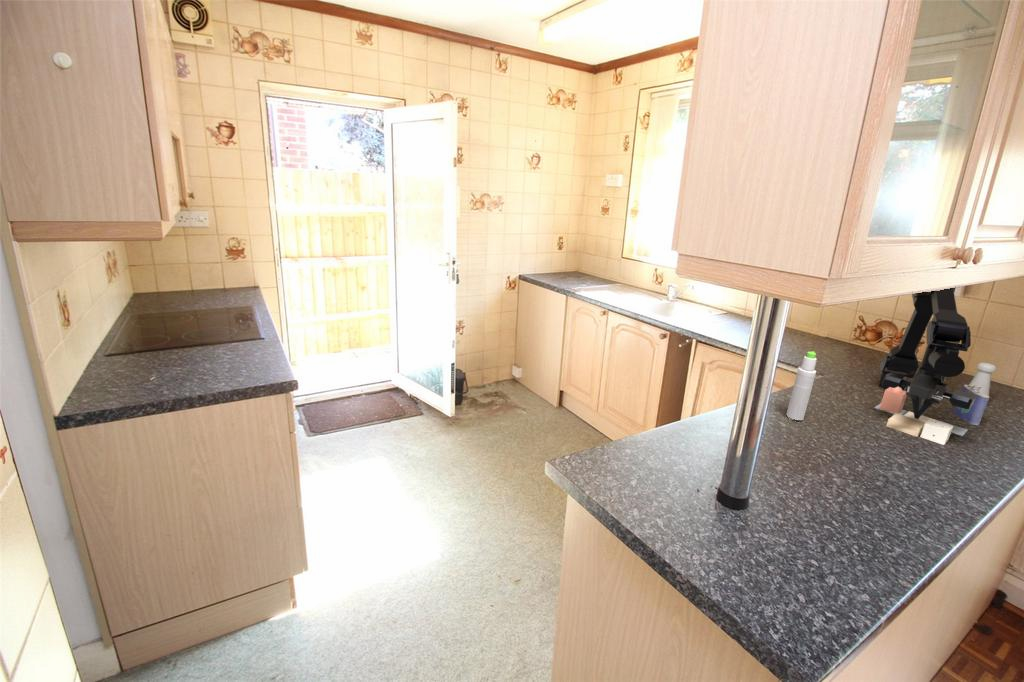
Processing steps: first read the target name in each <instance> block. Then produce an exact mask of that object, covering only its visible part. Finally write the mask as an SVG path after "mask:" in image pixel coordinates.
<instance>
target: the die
mask: <svg viewBox="0 0 1024 682" xmlns="http://www.w3.org/2000/svg"><path fill="white" fill-rule="evenodd" d="M932 419H933V418H932ZM932 419H929V420H928V421H927V422H926V423H925V425H924V428H923V431H922V433H921V434H920V435H919V437H920V438H922V439H925V440H927V441H931V442H933V443H937V444H940V445H942V446H945V445H946V443H947V442H948V441H949V439H950V436H951V435H952V433H951V431H952V429H953V426H952V425H953V424H951V425H949V424H950V423H948V424H945V423H946V422H945V423H942V422H943V421H941V422H939V421H940V420H937V419H935V420H932Z"/></svg>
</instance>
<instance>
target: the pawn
mask: <svg viewBox="0 0 1024 682" xmlns="http://www.w3.org/2000/svg"><path fill="white" fill-rule="evenodd" d="M906 392H907V391H906V390H905V391H903V390H902V389H901V388H900V387H896V388H891V387H889V388H888V389H886V390H885V389H884V393H883V396H882V399H881V401H880V403H881V405H880V408H881V409H884V410H887V411H890V412H893V413H899V412H900V411H902V409H904V404H905V403H906V399H907V396H908V395H906Z"/></svg>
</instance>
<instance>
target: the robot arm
mask: <svg viewBox="0 0 1024 682" xmlns="http://www.w3.org/2000/svg"><path fill="white" fill-rule="evenodd" d="M955 291H956V287H955V288H950V289H944V290H940V291H931V292H922V293H915V294H912V293H911V297H912V302H913V306H914V309H913V313H912V314H911V317H910V319H909V321H908V324H907V326H906V328H905V330H904V333H903V335H902V337H901V340H900V342H899V344H898V345H896V346H894V347H892V348H890V350H889V352H888V354H887V355H885V356H884V357H883V359H882V361H880V365H879V371H880V373H881V377H880V380H879V382H878V388H881V389H883V390H884V391H885V390H886V389H888V388H889V387H891V388H896V387H900V388H901V389H902V390H903V391H906V390H907V391H906V395H907V396H909V398H910V399H911V402H912V408H913V410H912V411H913V413H914V418H915V419H919V418H920V417H921V416H923V415H924V413H926V411H928V410H929V408H930V407H931V406H932V405H933V404H940V403H941V402H943V401H944V399H946V400H949V403H950V404H951V405H952V406H954V407H955V406H957V407H960V408H964V409H970V407H971V406H972V405H973V404H974V401H975V398H976V397H975V396H974V395H973V394H970V393H966V392H962V390H958V389H956V390H955V391H954V392H951V391H947V388H948V384H947V383H945V382H946V378H954V377H957V376H959V375H960V374H962V373H963V372H964V371H965V367H966V364H965V361H964V360H963V359H962V357H960V356H959V354H960V352H961V351H962V352H968V350H969V348H970V346H971V345H972V344H971V340H972V338H971V336H972V334H971V332H972V331H971V330H970V326H969V325H968V322H967V320H966V317H964V316H963V315H961V314H960V313H958V308H957V303H956V298H955V297H956V296H955ZM925 332H926V334H925ZM924 334H925V335H926V348H925V351H924V355H923V357H922V359H921V362H920V365H919V361H918V355H917V349H918V347H919V345H920V342H921V340H922V338H923V336H924ZM917 371H918V372H917ZM908 379H912V381H911V380H908ZM923 399H924V400H923Z"/></svg>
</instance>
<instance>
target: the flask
mask: <svg viewBox="0 0 1024 682" xmlns="http://www.w3.org/2000/svg"><path fill="white" fill-rule="evenodd" d="M973 385H974V383H973V384H972V386H971V385H969V384H964V385H962V388H961V391H962V392H966V393H970V394H973V395H974V396H975V397H976V398H975V401H974V404H973V405H972V406H971V407H970V409H964V408H960V407H957V406H954V409H953V410H952V412H953V413H954V414H955V415H956V416H958V417H959V418H960V419H962V420H963V421H965V422H967V423H969V424H970V425H973V426H974V425H976V426H979V425H980V423H981V422H982V421H981V420H982V418H983V415H984V412H985V410H986V407H987V406H988V402H989V401H990V398H991V397H990V395H989V396H987V395H985V394H983V393H981V392H980V391H979V390H980V388H982V386H981V385H980V386H979V385H978V384H975V385H974V387H973Z"/></svg>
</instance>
